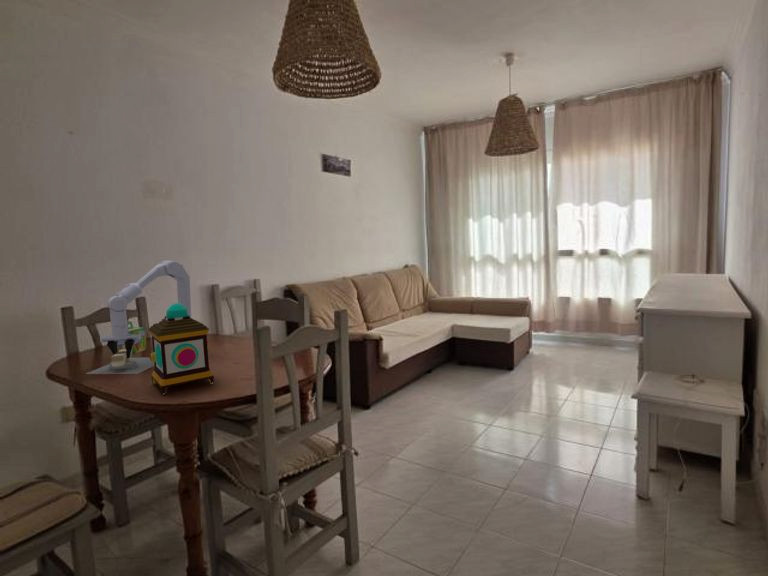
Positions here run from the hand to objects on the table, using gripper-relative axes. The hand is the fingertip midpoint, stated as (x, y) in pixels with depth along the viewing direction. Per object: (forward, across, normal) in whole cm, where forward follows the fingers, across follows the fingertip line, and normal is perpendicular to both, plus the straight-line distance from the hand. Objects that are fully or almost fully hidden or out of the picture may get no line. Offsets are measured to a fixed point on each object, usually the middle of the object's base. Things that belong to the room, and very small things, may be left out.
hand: (122, 358), depth 185 cm
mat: (+5, -2, -4) cm, 7 cm away
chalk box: (+5, +5, -31) cm, 32 cm away
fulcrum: (+4, 0, 0) cm, 4 cm away
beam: (+2, 0, 0) cm, 2 cm away
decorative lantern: (+5, -28, +29) cm, 41 cm away
